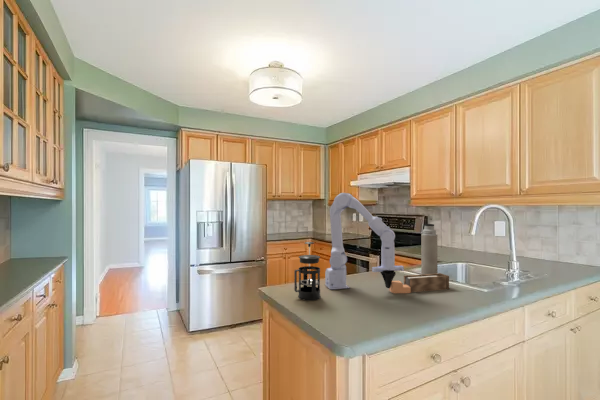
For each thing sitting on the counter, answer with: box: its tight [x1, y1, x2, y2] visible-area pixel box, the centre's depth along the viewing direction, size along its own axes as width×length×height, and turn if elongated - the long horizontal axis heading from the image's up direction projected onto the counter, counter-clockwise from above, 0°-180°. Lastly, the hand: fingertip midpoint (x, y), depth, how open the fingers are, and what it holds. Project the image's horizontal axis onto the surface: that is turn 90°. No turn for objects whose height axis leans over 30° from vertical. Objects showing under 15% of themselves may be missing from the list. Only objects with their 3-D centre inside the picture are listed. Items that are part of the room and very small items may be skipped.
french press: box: [293, 241, 321, 302], centre depth 128 cm, size 12×9×23 cm
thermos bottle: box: [420, 223, 439, 274], centre depth 164 cm, size 8×8×28 cm
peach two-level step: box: [388, 280, 412, 294], centre depth 136 cm, size 8×4×4 cm, turn 92°
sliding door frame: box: [403, 272, 450, 293], centre depth 140 cm, size 20×6×6 cm, turn 104°
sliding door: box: [406, 276, 433, 287], centre depth 139 cm, size 16×3×5 cm, turn 104°
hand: (387, 287), depth 135 cm, fingers closed
